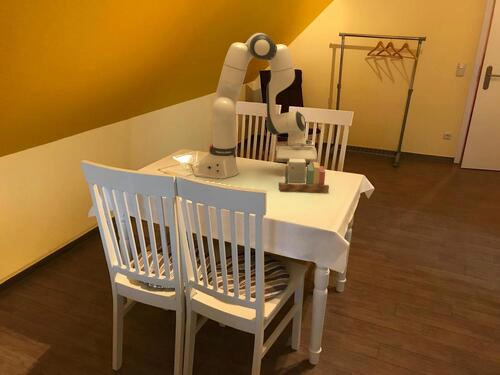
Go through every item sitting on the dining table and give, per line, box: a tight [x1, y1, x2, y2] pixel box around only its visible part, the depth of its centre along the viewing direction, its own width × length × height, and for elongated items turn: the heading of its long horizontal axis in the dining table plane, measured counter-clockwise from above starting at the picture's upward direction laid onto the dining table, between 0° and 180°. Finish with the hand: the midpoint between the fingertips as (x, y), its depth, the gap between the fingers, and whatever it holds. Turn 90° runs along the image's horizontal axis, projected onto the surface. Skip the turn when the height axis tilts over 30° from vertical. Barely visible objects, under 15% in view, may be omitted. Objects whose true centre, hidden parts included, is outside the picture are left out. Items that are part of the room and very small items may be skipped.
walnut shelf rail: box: [279, 182, 330, 194], centre depth 192 cm, size 22×2×4 cm, turn 87°
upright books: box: [305, 161, 326, 185], centre depth 195 cm, size 8×8×12 cm
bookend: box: [278, 165, 289, 191], centre depth 196 cm, size 4×8×9 cm, turn 177°
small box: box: [288, 158, 307, 184], centre depth 204 cm, size 8×6×10 cm
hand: (296, 169), depth 208 cm, fingers closed, pressing on small box
